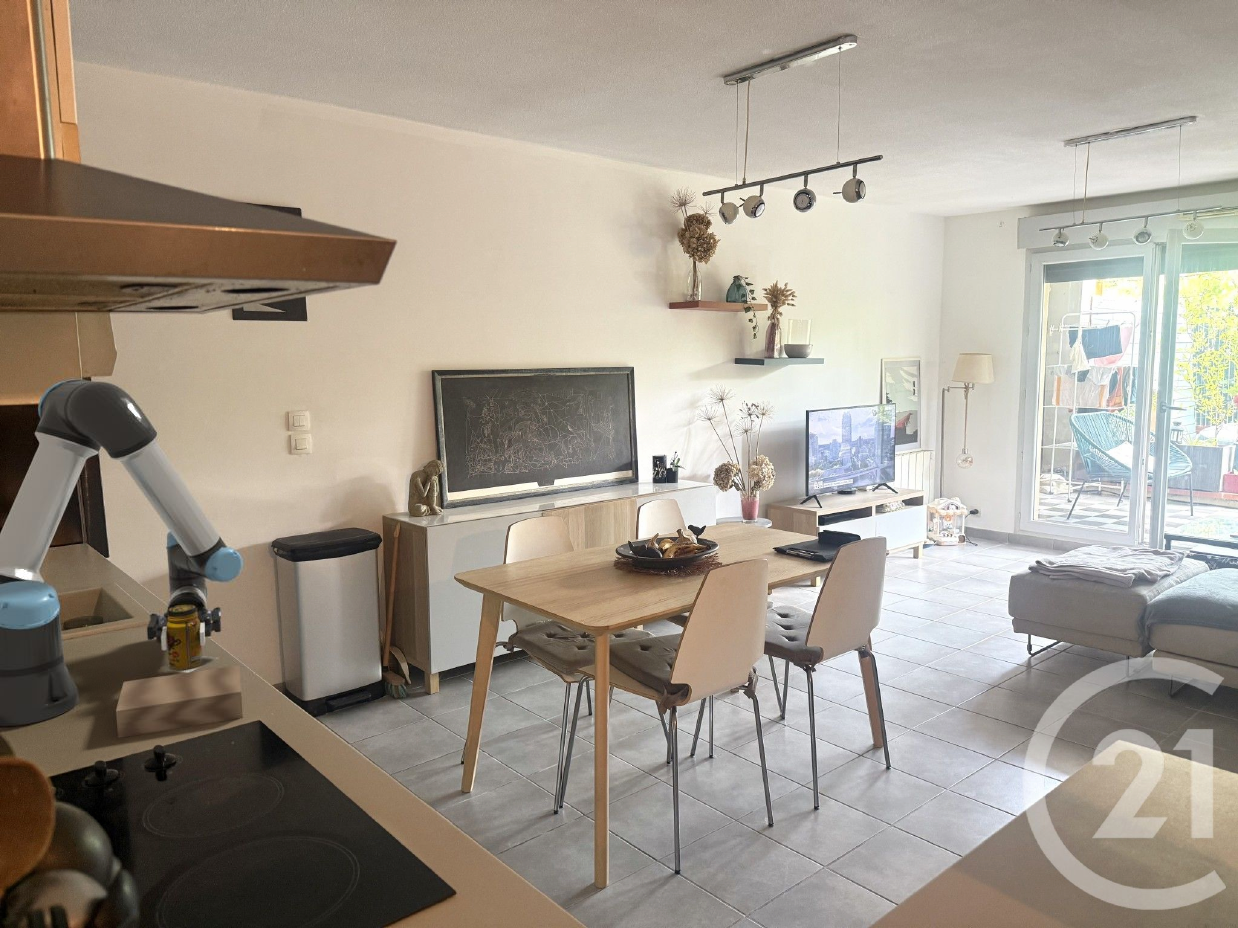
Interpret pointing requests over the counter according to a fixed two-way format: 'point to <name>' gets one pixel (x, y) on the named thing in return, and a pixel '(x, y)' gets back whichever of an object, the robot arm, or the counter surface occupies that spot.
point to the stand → (179, 701)
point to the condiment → (184, 640)
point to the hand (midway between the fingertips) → (183, 641)
